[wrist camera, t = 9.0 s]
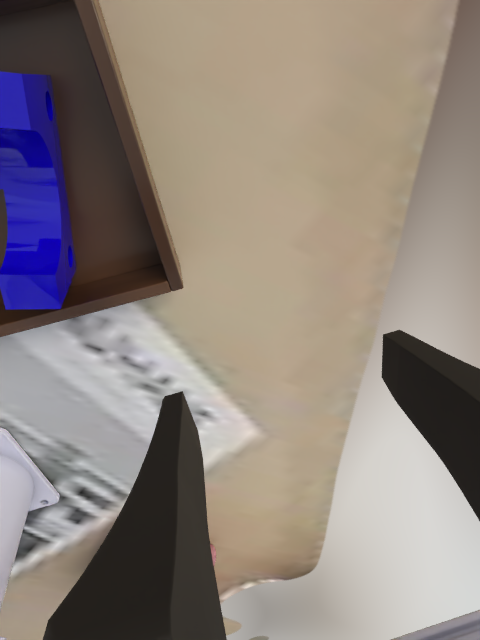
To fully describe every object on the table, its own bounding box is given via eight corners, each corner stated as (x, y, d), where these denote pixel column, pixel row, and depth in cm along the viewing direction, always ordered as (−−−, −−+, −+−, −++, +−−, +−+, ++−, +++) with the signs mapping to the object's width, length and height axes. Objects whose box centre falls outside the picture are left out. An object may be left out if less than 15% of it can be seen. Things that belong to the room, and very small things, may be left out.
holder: (-13, 316, 20) (-34, 346, 17) (-203, 37, 13) (-276, 30, 11) (180, 265, 20) (183, 288, 18) (91, -24, 14) (79, -44, 11)
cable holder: (-55, 63, 14) (-119, 58, 10) (50, 75, 14) (21, 73, 11) (-4, 267, 18) (-38, 310, 15) (76, 268, 19) (60, 308, 15)
